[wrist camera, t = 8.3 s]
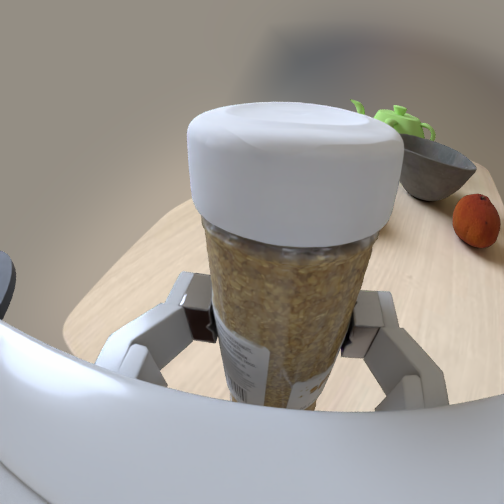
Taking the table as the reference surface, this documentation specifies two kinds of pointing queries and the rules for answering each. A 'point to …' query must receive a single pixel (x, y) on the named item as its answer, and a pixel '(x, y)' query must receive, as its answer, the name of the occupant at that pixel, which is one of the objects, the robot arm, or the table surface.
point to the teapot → (399, 120)
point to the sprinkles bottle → (288, 236)
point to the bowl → (432, 169)
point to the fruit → (476, 221)
